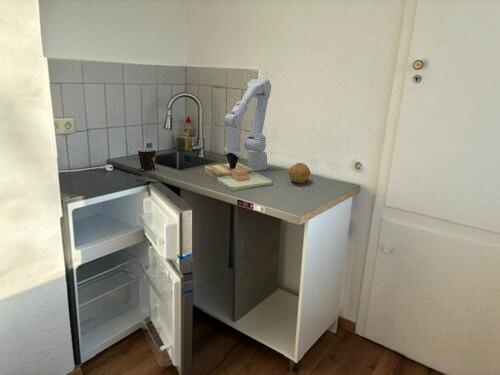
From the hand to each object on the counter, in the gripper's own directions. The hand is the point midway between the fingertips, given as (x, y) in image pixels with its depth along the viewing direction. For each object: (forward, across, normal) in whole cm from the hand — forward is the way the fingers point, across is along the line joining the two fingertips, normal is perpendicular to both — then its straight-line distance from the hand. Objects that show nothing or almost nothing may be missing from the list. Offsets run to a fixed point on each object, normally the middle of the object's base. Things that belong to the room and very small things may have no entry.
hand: (232, 168), depth 180 cm
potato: (+4, +22, +23) cm, 32 cm away
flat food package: (+4, -5, 0) cm, 6 cm away
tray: (+3, +12, 0) cm, 13 cm away
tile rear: (+1, +7, 0) cm, 7 cm away
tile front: (+3, +9, 0) cm, 9 cm away
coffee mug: (+4, -29, -34) cm, 45 cm away
